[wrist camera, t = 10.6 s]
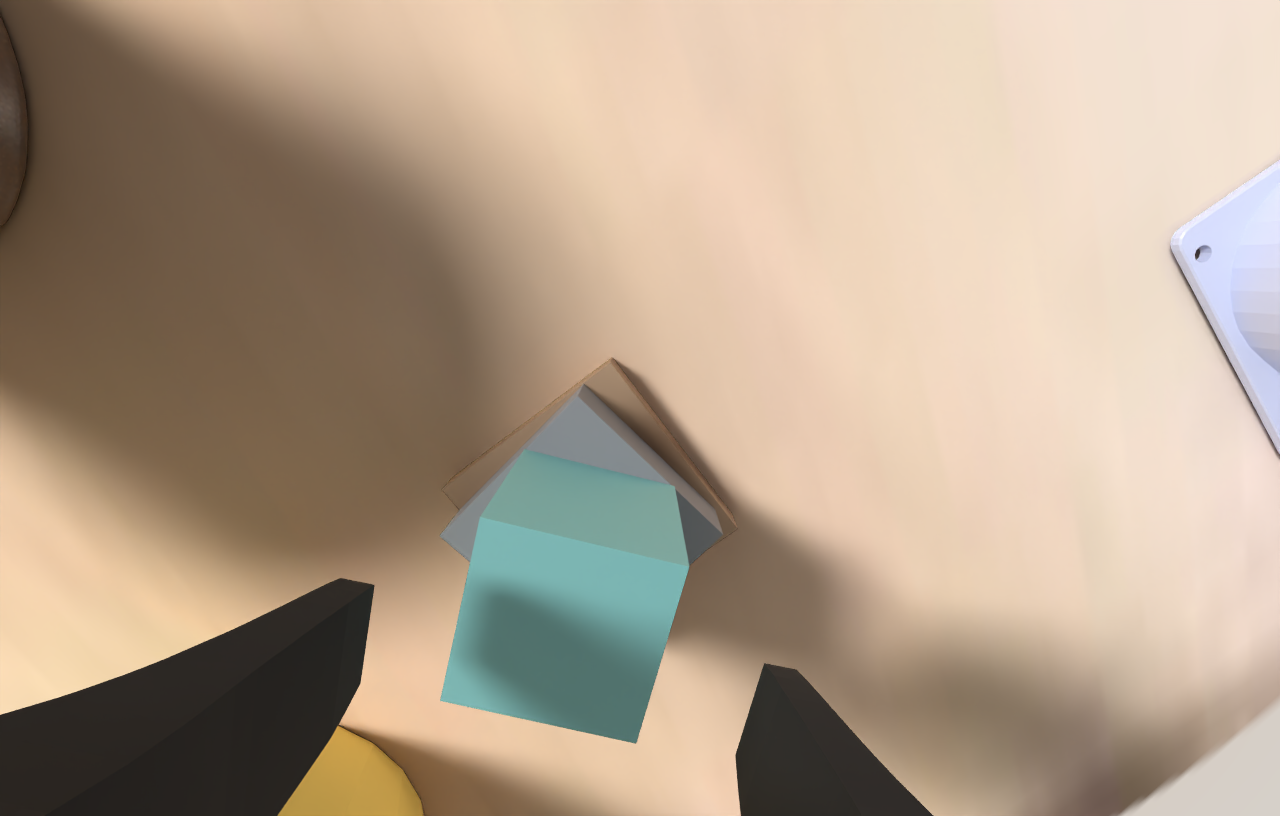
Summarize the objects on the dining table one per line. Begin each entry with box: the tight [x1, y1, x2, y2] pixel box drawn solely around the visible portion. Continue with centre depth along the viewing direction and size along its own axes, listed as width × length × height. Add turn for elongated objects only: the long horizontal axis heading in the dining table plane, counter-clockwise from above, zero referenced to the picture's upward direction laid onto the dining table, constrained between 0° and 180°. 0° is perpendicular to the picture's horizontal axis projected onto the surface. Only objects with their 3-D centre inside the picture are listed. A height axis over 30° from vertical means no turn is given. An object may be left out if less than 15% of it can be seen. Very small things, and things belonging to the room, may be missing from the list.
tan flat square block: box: [442, 358, 738, 550], centre depth 21 cm, size 7×7×2 cm
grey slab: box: [440, 384, 723, 565], centre depth 19 cm, size 6×6×2 cm
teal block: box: [440, 449, 689, 743], centre depth 15 cm, size 4×4×5 cm
